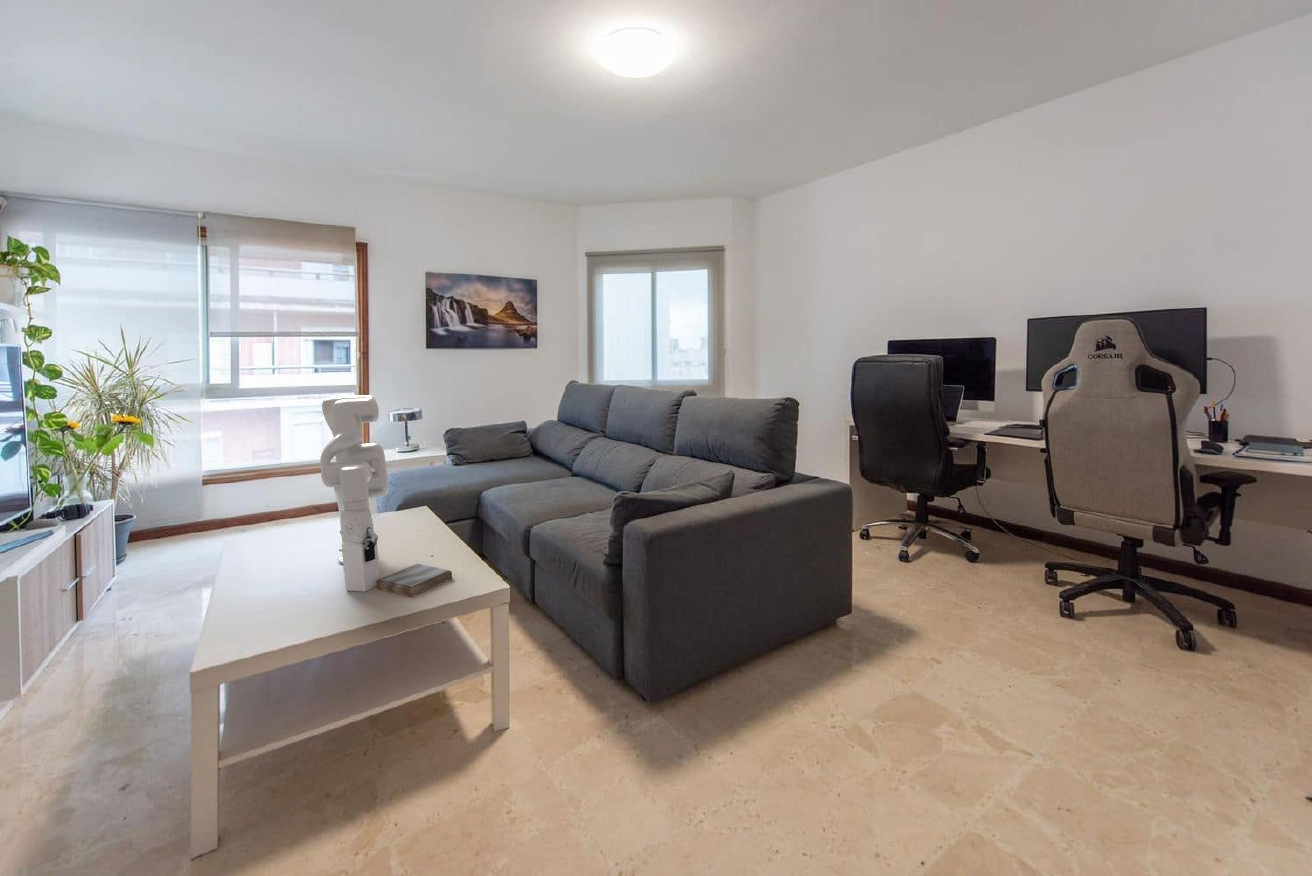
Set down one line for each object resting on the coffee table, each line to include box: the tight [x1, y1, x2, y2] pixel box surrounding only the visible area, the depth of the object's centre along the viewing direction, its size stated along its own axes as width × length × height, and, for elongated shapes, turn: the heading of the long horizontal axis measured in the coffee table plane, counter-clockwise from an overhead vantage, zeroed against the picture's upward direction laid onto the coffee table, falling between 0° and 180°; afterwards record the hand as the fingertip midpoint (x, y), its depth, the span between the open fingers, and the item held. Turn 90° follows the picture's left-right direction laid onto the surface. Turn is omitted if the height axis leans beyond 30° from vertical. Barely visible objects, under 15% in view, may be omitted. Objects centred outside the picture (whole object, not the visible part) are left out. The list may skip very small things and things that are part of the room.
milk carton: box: [341, 534, 381, 593], centre depth 180 cm, size 7×7×19 cm
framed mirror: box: [376, 563, 453, 598], centre depth 184 cm, size 16×16×3 cm
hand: (360, 558), depth 180 cm, fingers closed on milk carton, 8 cm apart
